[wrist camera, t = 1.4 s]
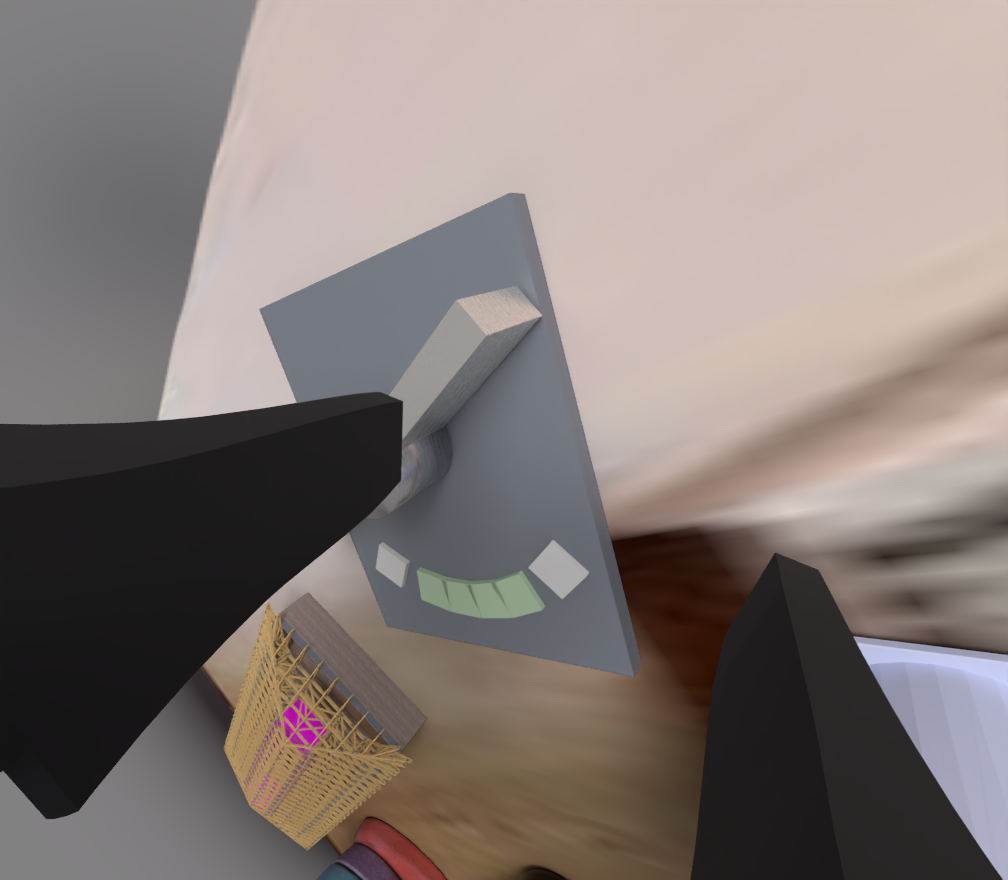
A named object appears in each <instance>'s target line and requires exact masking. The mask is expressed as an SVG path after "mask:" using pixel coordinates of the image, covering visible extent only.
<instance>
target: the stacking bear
mask: <svg viewBox="0 0 1008 880" xmlns="http://www.w3.org/2000/svg"><path fill="white" fill-rule="evenodd" d="M317 880H446V878H445V877H444V875H443V874H442V873H441V871H440V870H439V869H438V868H437V867H436V866H435V865H434V864H433V862H432V861H431V860H430V859H429V858H428V857H427V856H426V855H425V854H424V853H423V852H421V851H420V850H419V849H418V848H417V847H416V846H415V845H414V844H413V843H412V842H410V841H409V840H408V839H407V838H405V837H404V836H403V835H402V834H401V833H399V832H398V831H397V830H395V829H394V828H392V827H391V826H389V825H387V824H386V823H384V822H382V821H380V820H378V819H375V818H368V819H366V820H364V821H363V823H362V824H361V826H360V828H359V830H358V832H357V834H356V837H355V841H354V845H352V846H351V847H350V848H349V849H347V850H346V851H345V852H344V853H343V854H342V855H341V856H340V857H339V858H338V859H337V860H336V861H335V863H334V864H332V865H330V866H329V867H328V868H327V869H326V870H325V871H324V872H323V873H322V874H321V875H320V876H319V878H318V879H317Z"/></svg>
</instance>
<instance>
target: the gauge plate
mask: <svg viewBox="0 0 1008 880" xmlns="http://www.w3.org/2000/svg"><path fill="white" fill-rule="evenodd" d="M514 286H517V287H518V288H519V289H520V290H521V292H522V293H523V294H524V295H525V296H526V297H527V298H528V300H529V301H530V302H531V303H532V304H533V305H534V306H535V308H536V309H537V310H538V311H539V312H540V313H541V314H542V317H541V318H540V319H539V320H538V321H537V322H536V324H535V325H534V326H533V327H532V328H531V329H530V330H529V331H528V333H527V334H526V335H525V336H524V337H523V338H522V339H521V341H520V342H519V343H518V344H517V345H516V346H515V347H514V348H513V350H512V351H511V352H510V353H509V354H508V355H507V356H506V358H505V359H504V360H503V361H502V362H501V363H500V364H499V365H498V367H497V368H496V369H495V370H494V371H493V372H492V373H491V375H490V376H489V377H488V378H487V379H486V380H485V381H484V382H483V384H482V385H481V386H480V387H479V388H478V389H477V390H476V392H475V393H474V394H473V395H472V396H471V397H470V398H469V399H468V401H467V402H466V403H465V404H464V405H463V406H462V407H461V408H460V410H459V411H458V412H457V413H456V414H455V415H454V416H453V418H452V419H451V420H450V421H449V422H448V423H447V424H446V425H445V427H446V429H447V431H448V434H449V437H450V441H451V447H452V458H451V463H450V466H449V468H448V470H447V472H446V473H445V474H444V476H442V477H441V478H440V479H439V480H437V481H436V482H434V483H433V484H431V485H430V486H428V487H427V488H425V489H424V490H423V491H421V492H420V493H418V494H417V495H415V496H414V497H412V498H411V499H409V500H408V501H407V502H405V503H404V504H402V505H401V506H399V507H398V508H396V509H395V510H393V511H392V512H391V513H389V514H388V515H386V516H384V517H382V518H379V519H369V518H365V519H364V520H363V521H362V522H360V523H359V524H358V525H357V526H356V527H354V528H353V529H352V530H351V531H350V532H349V533H350V535H351V538H352V540H353V543H354V545H355V548H356V550H357V553H358V555H359V558H360V560H361V562H362V565H363V567H364V570H365V572H366V575H367V577H368V580H369V582H370V585H371V587H372V590H373V592H374V595H375V597H376V600H377V602H378V605H379V607H380V610H381V612H382V614H383V617H384V619H385V622H386V624H387V627H392V628H397V629H402V630H407V631H412V632H416V633H421V634H426V635H431V636H436V637H441V638H446V639H451V640H455V641H460V642H465V643H470V644H475V645H480V646H485V647H490V648H494V649H499V650H504V651H509V652H514V653H519V654H524V655H529V656H534V657H538V658H543V659H548V660H553V661H558V662H563V663H568V664H573V665H577V666H582V667H587V668H592V669H597V670H602V671H607V672H612V673H616V674H621V675H626V676H631V677H635V674H636V672H637V669H638V667H639V664H640V662H641V659H640V655H639V651H638V647H637V643H636V639H635V635H634V631H633V627H632V623H631V619H630V615H629V611H628V607H627V603H626V599H625V595H624V591H623V587H622V583H621V579H620V575H619V571H618V567H617V563H616V559H615V555H614V551H613V547H612V543H611V539H610V535H609V531H608V526H607V522H606V518H605V514H604V510H603V506H602V502H601V498H600V494H599V490H598V486H597V482H596V478H595V474H594V470H593V466H592V462H591V458H590V454H589V450H588V446H587V442H586V438H585V434H584V430H583V426H582V422H581V418H580V414H579V410H578V406H577V402H576V398H575V394H574V390H573V386H572V382H571V378H570V374H569V370H568V366H567V362H566V358H565V354H564V350H563V346H562V342H561V338H560V334H559V330H558V326H557V322H556V318H555V314H554V310H553V306H552V302H551V298H550V294H549V290H548V286H547V282H546V278H545V274H544V270H543V266H542V262H541V258H540V254H539V250H538V246H537V242H536V238H535V234H534V230H533V226H532V222H531V218H530V214H529V210H528V206H527V202H526V198H525V194H518V193H509V194H507V195H504V196H502V197H500V198H498V199H496V200H494V201H492V202H489V203H487V204H485V205H483V206H481V207H479V208H476V209H474V210H472V211H470V212H468V213H466V214H463V215H461V216H459V217H457V218H455V219H453V220H451V221H448V222H446V223H444V224H442V225H440V226H438V227H435V228H433V229H431V230H429V231H427V232H425V233H423V234H420V235H418V236H416V237H414V238H412V239H410V240H407V241H405V242H403V243H401V244H399V245H397V246H394V247H392V248H390V249H388V250H386V251H384V252H382V253H379V254H377V255H375V256H373V257H371V258H369V259H366V260H364V261H362V262H360V263H358V264H356V265H353V266H351V267H349V268H347V269H345V270H343V271H341V272H338V273H336V274H334V275H332V276H330V277H328V278H325V279H323V280H321V281H319V282H317V283H315V284H313V285H310V286H308V287H306V288H304V289H302V290H300V291H297V292H295V293H293V294H291V295H289V296H287V297H284V298H282V299H280V300H278V301H276V302H274V303H272V304H269V305H267V306H265V307H263V308H261V309H259V310H260V312H261V315H262V317H263V320H264V322H265V325H266V327H267V330H268V332H269V335H270V337H271V340H272V342H273V345H274V347H275V349H276V352H277V354H278V357H279V359H280V362H281V364H282V367H283V369H284V372H285V374H286V377H287V379H288V382H289V384H290V387H291V389H292V392H293V394H294V397H295V399H296V401H297V403H300V402H306V401H312V400H318V399H324V398H330V397H337V396H343V395H351V394H359V393H368V392H382V393H384V394H387V395H390V393H391V392H392V390H393V389H394V387H395V386H396V385H397V383H398V382H399V380H400V379H401V377H402V376H403V375H404V373H405V372H406V370H407V369H408V367H409V366H410V365H411V363H412V362H413V360H414V359H415V357H416V356H417V355H418V353H419V352H420V350H421V349H422V348H423V346H424V345H425V343H426V342H427V340H428V339H429V338H430V336H431V335H432V333H433V332H434V330H435V329H436V328H437V326H438V325H439V323H440V322H441V320H442V319H443V318H444V316H445V315H446V313H447V312H448V310H449V309H450V308H451V306H452V305H453V303H454V302H455V300H457V299H462V298H466V297H471V296H475V295H479V294H484V293H488V292H492V291H497V290H501V289H505V288H510V287H514Z"/></svg>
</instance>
